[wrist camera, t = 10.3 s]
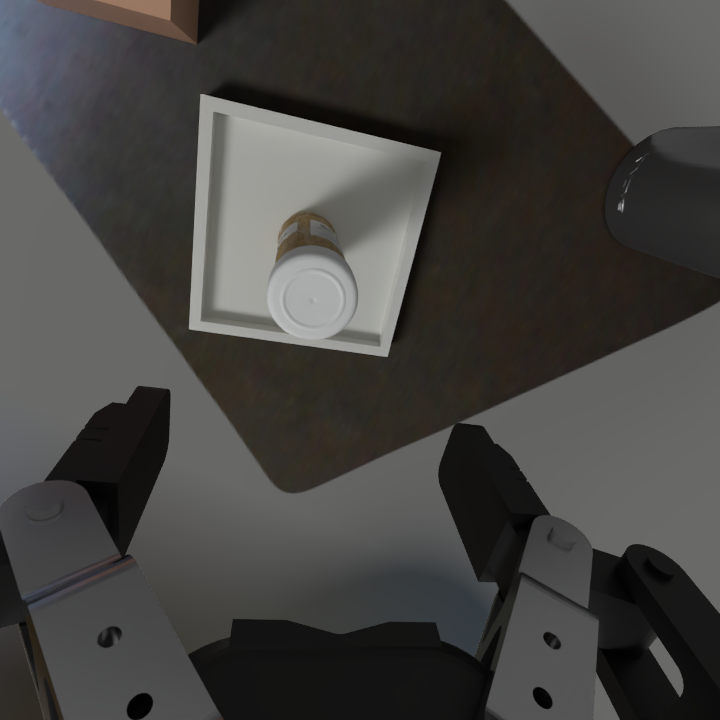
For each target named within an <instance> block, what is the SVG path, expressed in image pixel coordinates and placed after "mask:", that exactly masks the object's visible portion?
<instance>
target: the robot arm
mask: <svg viewBox="0 0 720 720" xmlns="http://www.w3.org/2000/svg"><path fill="white" fill-rule="evenodd" d="M605 217H606V221H607V224H608V228H609V230H610V231H611V233H612V235H613V236H614V237H615V238H616V239H617V240H618V241H619V242H620V243H621V244H623V245H625V246H627V247H629V248H632V249H635V250H638V251H641V252H644V253H647V254H650V255H653V256H656V257H659V258H661V259H664V260H667V261H670V262H673V263H676V264H679V265H682V266H685V267H688V268H690V269H693V270H696V271H699V272H702V273H705V274H708V275H711V276H714V277H717V278H720V126H718V127H717V126H715V127H681V128H680V127H676V128H669V129H666V130H661V131H659V132H657V133H655V134H652V135H650V136H649V137H647V138H646V139H644V140H643V141H642V142H640V143H639V144H637V145H636V146H635V147H634V148H633V149H632V150H631V151H630V152H629V153H628V154H627V155H626V156H625V158H624V159H623V160H622V162H621V163H620V165H619V166H618V167H617V169H616V171H615V173H614V175H613V177H612V179H611V182H610V185H609V188H608V191H607V195H606V202H605ZM169 426H170V390H169V389H163V388H154V387H145V386H138V387H137V388H136V389H135V391H134V392H133V394H132V395H131V397H130V398H129V400H128V402H127V403H126V404H122V403H113V402H112V403H111V404H109V405H108V406H106V407H104V408H102V409H101V410H99V411H97V412H96V413H94V415H93V416H92V418H91V419H90V420H89V421H88V423H87V424H86V425H85V428H84V429H82V431H81V432H80V433H79V435H78V436H77V438H76V441H74V442H73V443H72V444H71V446H70V447H69V449H68V450H67V451H66V452H65V454H64V455H63V456H62V458H61V459H60V460H59V462H58V463H57V464H56V466H55V467H54V468H53V470H52V471H51V473H50V474H49V475H48V477H47V478H46V479H45V481H44V482H40V483H36V484H33V485H30V486H28V487H25V488H23V489H21V490H19V491H18V492H16V493H14V494H13V495H12V496H10V497H9V498H8V499H7V500H6V501H5V502H4V503H3V504H2V506H1V507H0V628H2V627H5V626H9V625H13V624H17V625H18V629H19V632H20V636H21V639H22V642H23V646H24V649H25V653H26V656H27V660H28V663H29V667H30V670H31V673H32V677H33V680H34V684H35V687H36V691H37V694H38V697H39V701H40V705H41V708H42V713H43V717H44V720H593V711H594V694H595V677H596V673H597V675H598V677H599V679H600V681H601V683H602V685H603V687H604V688H605V691H606V693H607V695H608V697H609V698H610V700H611V703H612V705H613V706H614V708H615V710H616V712H617V714H618V716H619V718H620V720H720V614H719V613H718V611H717V610H716V609H715V608H714V606H713V605H712V604H711V603H710V602H709V601H708V599H707V598H706V597H705V596H704V594H703V593H702V592H701V591H700V590H699V588H698V587H697V586H696V585H695V583H694V582H693V581H692V580H691V579H690V577H689V576H688V575H687V574H686V573H685V571H684V570H683V569H682V568H681V567H680V566H679V565H678V564H677V563H676V562H674V561H673V560H672V559H670V558H669V557H668V556H666V555H665V554H663V553H661V552H660V551H658V550H655V549H653V548H651V547H648V546H645V545H640V544H634V545H631V546H629V547H628V548H627V549H626V551H625V553H624V554H623V555H622V557H618V556H614V555H611V554H608V553H605V552H602V551H599V550H596V549H593V548H592V547H591V544H590V542H589V541H588V539H587V538H586V537H585V535H584V534H583V533H582V532H581V531H580V530H578V529H577V528H576V527H575V526H573V525H572V524H570V523H568V522H567V521H565V520H562V519H560V518H557V517H554V516H551V515H550V514H549V512H548V511H547V509H546V508H545V506H544V505H543V503H542V502H541V500H540V499H539V497H538V496H537V494H536V493H535V491H534V490H533V488H532V486H531V485H530V483H529V482H527V481H526V480H527V479H526V477H525V476H524V474H523V473H522V471H520V468H519V467H518V465H517V464H516V463H515V461H514V459H513V458H512V456H511V455H510V454H508V453H507V452H506V451H505V450H504V449H503V448H502V447H500V446H499V445H498V444H494V442H493V441H492V439H491V438H490V436H489V434H488V433H487V431H486V430H485V428H484V427H483V426H479V425H471V424H462V423H457V424H455V426H454V427H453V429H452V432H451V435H450V437H449V440H448V443H447V445H446V448H445V451H444V454H443V457H442V459H441V462H440V466H439V473H438V477H439V484H440V487H441V489H442V492H443V494H444V497H445V499H446V502H447V504H448V507H449V509H450V512H451V514H452V517H453V519H454V522H455V524H456V527H457V529H458V532H459V534H460V537H461V539H462V542H463V544H464V547H465V549H466V552H467V554H468V557H469V559H470V562H471V564H472V566H473V569H474V572H475V574H476V577H477V579H478V582H496V583H497V585H498V587H499V589H498V591H497V594H496V595H495V597H494V600H493V603H492V606H491V609H490V612H489V615H488V618H487V621H486V624H485V627H484V630H483V633H482V636H481V639H480V642H479V645H478V648H477V651H476V654H475V656H474V657H473V656H471V655H470V654H468V653H467V652H465V651H463V650H461V649H459V648H458V647H456V646H453V645H451V644H449V643H446V642H443V641H441V640H440V636H439V633H438V629H437V626H436V623H431V622H387V623H383V624H379V625H376V626H372V627H368V628H364V629H361V630H357V631H354V632H350V633H346V634H335V633H331V632H327V631H324V630H320V629H316V628H313V627H309V626H306V625H302V624H298V623H295V622H291V621H288V620H252V619H251V620H250V619H233V623H232V629H231V637H229V638H225V639H222V640H218V641H216V642H213V643H211V644H208V645H205V646H203V647H201V648H199V649H197V650H195V651H194V652H192V653H190V654H189V655H187V653H186V651H185V649H184V648H183V646H182V644H181V642H180V640H179V639H178V637H177V635H176V633H175V631H174V629H173V628H172V626H171V624H170V622H169V620H168V619H167V617H166V615H165V613H164V611H163V609H162V608H161V606H160V604H159V602H158V600H157V598H156V597H155V595H154V593H153V591H152V589H151V587H150V586H149V584H148V582H147V580H146V578H145V576H144V575H143V573H142V571H141V569H140V567H139V566H138V564H137V562H136V561H135V559H134V558H133V557H132V556H131V555H126V556H125V554H126V552H127V549H128V547H129V544H130V542H131V540H132V537H133V535H134V532H135V530H136V528H137V525H138V523H139V520H140V518H141V516H142V513H143V511H144V509H145V506H146V504H147V501H148V499H149V497H150V494H151V492H152V489H153V487H154V485H155V482H156V480H157V478H158V475H159V473H160V470H161V468H162V466H163V463H164V461H165V457H166V454H167V449H168V443H169ZM657 636H658V638H659V639H660V640H661V642H662V644H663V645H664V646H665V648H666V650H667V651H668V653H669V654H670V656H671V657H672V658H673V660H674V662H675V663H676V665H677V666H678V668H679V670H680V672H681V675H682V678H683V684H684V689H683V693H682V695H681V697H679V695H678V694H677V693H676V691H675V689H674V688H673V686H672V684H671V683H670V681H669V680H668V678H667V676H666V675H665V673H664V672H663V670H662V669H661V667H660V665H659V664H658V662H657V661H656V659H655V657H654V656H653V654H652V653H651V651H650V650H649V646H650V645H651V644H652V643H653V641H654V640H655V639H656V638H657Z"/></svg>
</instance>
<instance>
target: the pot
mask: <svg viewBox="0 0 720 720" xmlns="http://www.w3.org/2000/svg"><path fill="white" fill-rule="evenodd" d="M37 1H39V2H41V3H43V4H46V5H49V6H53V7H57V8H61V9H65V10H68V11H72V12H76V13H80V14H84V15H87V16H91V17H95V18H99V19H102V20H106V21H110V22H114V23H118V24H121V25H125V26H129V27H133V28H136V29H140V30H144V31H148V32H152V33H155V34H159V35H163V36H167V37H170V38H174V39H178V40H182V41H186V42H189V43H193V44H197V36H198V13H199V0H37Z"/></svg>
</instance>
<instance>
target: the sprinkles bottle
mask: <svg viewBox="0 0 720 720" xmlns="http://www.w3.org/2000/svg"><path fill="white" fill-rule="evenodd" d="M267 304H268V308H269V311H270V313H271V315H272V317H273V319H274V320H275V322H276V323H277V324H278V325H279V326H280V327H281V328H282V329H283V330H284V331H286V332H287V333H289V334H291V335H293V336H295V337H298V338H301V339H306V340H320V339H325V338H328V337H331V336H333V335H335V334H337V333H338V332H340V331H341V330H342V329H344V328H345V327H346V326H347V325H348V324H349V322H350V321H351V319H352V318H353V316H354V314H355V311H356V309H357V305H358V288H357V284H356V280H355V277H354V274H353V272H352V270H351V268H350V266H349V265H348V263H347V262H346V260H345V257H344V254H343V252H342V249H341V247H340V244H339V242H338V239H337V235H336V232H335V230H334V228H333V226H332V225H331V223H330V222H329V221H328V220H326V219H325V218H324V217H323V216H320V215H318V214H315V213H311V212H301V213H298V214H295V215H293V216H291V217H290V218H289V219H288V220H287V221H285V222H284V224H283V225H282V227H281V229H280V231H279V235H278V245H277V253H276V259H275V265H274V267H273V268H272V270H271V273H270V276H269V280H268V285H267Z"/></svg>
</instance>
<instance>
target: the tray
mask: <svg viewBox="0 0 720 720" xmlns="http://www.w3.org/2000/svg"><path fill="white" fill-rule="evenodd" d="M440 156H441V152H438V151H434V150H429V149H425V148H421V147H417V146H413V145H409V144H405V143H401V142H397V141H392V140H388V139H384V138H380V137H376V136H372V135H368V134H364V133H360V132H355V131H351V130H347V129H343V128H339V127H335V126H331V125H327V124H323V123H318V122H314V121H310V120H306V119H302V118H298V117H294V116H290V115H286V114H281V113H277V112H273V111H269V110H265V109H261V108H257V107H253V106H249V105H244V104H240V103H236V102H232V101H228V100H224V99H220V98H216V97H212V96H207V95H203V94H201V98H200V118H199V138H198V159H197V179H196V199H195V219H194V240H193V260H192V280H191V301H190V321H189V329H191V330H198V331H206V332H213V333H220V334H227V335H234V336H241V337H249V338H256V339H263V340H270V341H277V342H284V343H292V344H299V345H306V346H313V347H320V348H327V349H334V350H342V351H349V352H356V353H363V354H370V355H377V356H385V357H388V353H389V349H390V345H391V341H392V338H393V334H394V330H395V326H396V323H397V319H398V315H399V311H400V307H401V304H402V300H403V296H404V292H405V288H406V285H407V281H408V277H409V273H410V269H411V266H412V262H413V258H414V254H415V250H416V247H417V243H418V239H419V235H420V232H421V228H422V224H423V220H424V216H425V213H426V209H427V205H428V201H429V197H430V194H431V190H432V186H433V182H434V178H435V175H436V171H437V167H438V163H439V159H440ZM301 212H311V213H315V214H318V215H320V216H323V217H324V218H325V219H326V220H328V221H329V222H330V223H331V225H332V226H333V228H334V230H335V232H336V235H337V239H338V242H339V244H340V247H341V249H342V252H343V254H344V257H345V260H346V262H347V263H348V265H349V266H350V268H351V270H352V272H353V274H354V277H355V280H356V284H357V288H358V305H357V309H356V311H355V314H354V316H353V318H352V319H351V321H350V322H349V324H348V325H347V326H346V327H345V328H344V329H342V330H341V331H340V332H338V333H337V334H335V335H333V336H331V337H328V338H325V339H320V340H306V339H301V338H298V337H295V336H293V335H291V334H289V333H287V332H286V331H284V330H283V329H282V328H281V327H280V326H279V325H278V324H277V323H276V322H275V320H274V319H273V317H272V315H271V313H270V311H269V308H268V304H267V285H268V280H269V276H270V273H271V270H272V268H273V267H274V265H275V259H276V253H277V245H278V235H279V231H280V229H281V227H282V225H283V224H284V222H285V221H287V220H288V219H289V218H290V217H291V216H293V215H295V214H298V213H301Z"/></svg>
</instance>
